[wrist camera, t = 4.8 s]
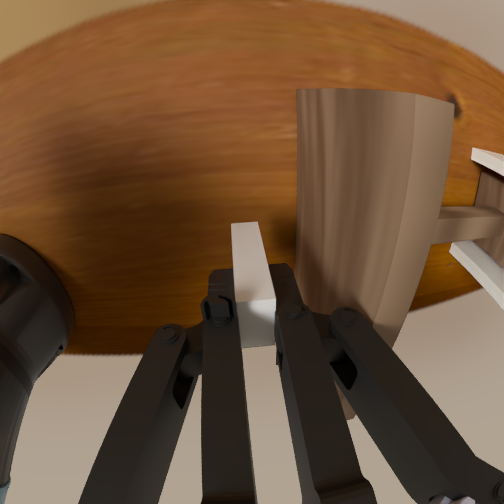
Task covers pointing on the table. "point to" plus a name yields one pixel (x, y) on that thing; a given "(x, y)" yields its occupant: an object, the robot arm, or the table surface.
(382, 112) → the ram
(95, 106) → the table surface
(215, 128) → the table surface
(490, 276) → the tunnel
